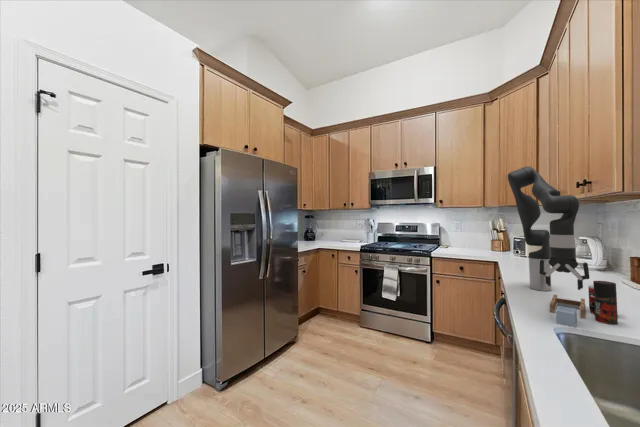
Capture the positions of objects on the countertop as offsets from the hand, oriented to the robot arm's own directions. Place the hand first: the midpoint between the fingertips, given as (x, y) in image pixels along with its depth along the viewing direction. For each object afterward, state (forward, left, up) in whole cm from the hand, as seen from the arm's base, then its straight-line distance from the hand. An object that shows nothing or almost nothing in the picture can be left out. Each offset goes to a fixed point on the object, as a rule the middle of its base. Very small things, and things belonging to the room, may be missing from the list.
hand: (563, 287), depth 102 cm
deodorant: (-9, +11, -13) cm, 19 cm away
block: (+1, +1, -13) cm, 13 cm away
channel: (-18, 0, -13) cm, 22 cm away
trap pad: (-23, 0, -13) cm, 26 cm away
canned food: (-20, +11, -13) cm, 26 cm away
